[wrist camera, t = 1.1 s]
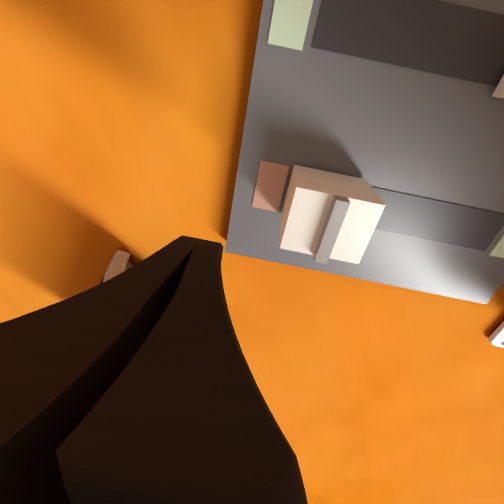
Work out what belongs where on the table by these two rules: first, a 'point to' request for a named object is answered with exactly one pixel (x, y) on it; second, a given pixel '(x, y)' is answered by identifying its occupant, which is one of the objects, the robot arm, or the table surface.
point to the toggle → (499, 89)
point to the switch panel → (382, 135)
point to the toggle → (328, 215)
